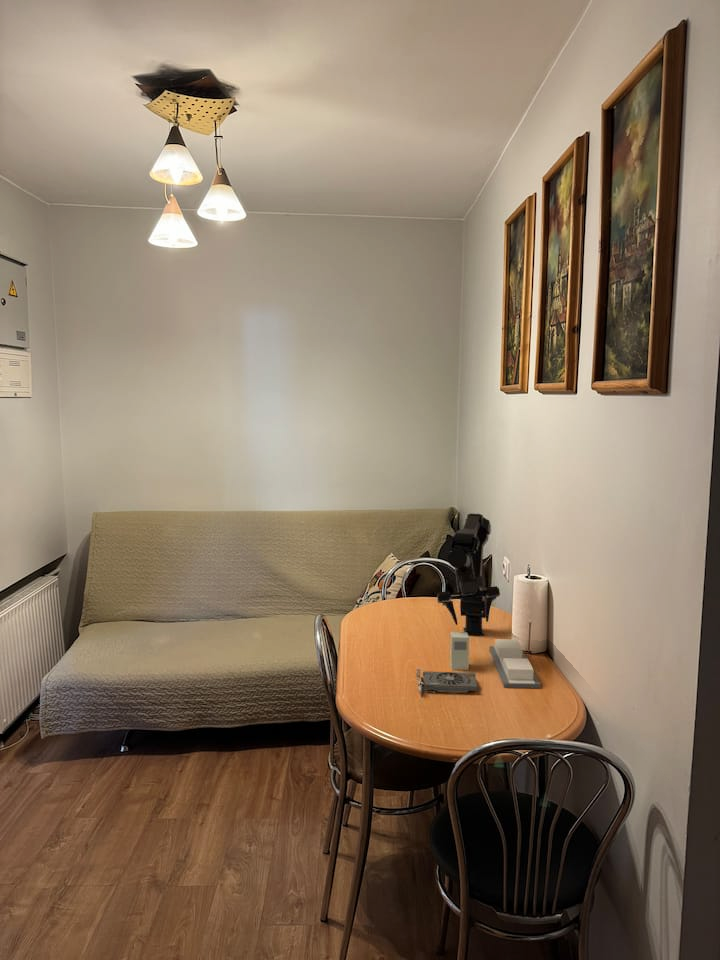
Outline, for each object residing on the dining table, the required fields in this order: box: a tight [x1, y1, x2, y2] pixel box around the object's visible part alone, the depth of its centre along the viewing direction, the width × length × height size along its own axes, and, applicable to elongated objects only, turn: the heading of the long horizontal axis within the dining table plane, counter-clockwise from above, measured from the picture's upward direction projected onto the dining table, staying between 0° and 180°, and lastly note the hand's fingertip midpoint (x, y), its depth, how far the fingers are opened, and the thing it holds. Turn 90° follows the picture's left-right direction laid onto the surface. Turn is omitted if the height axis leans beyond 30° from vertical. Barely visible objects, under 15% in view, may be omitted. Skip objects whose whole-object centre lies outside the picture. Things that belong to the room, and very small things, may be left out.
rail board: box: [488, 638, 541, 689], centre depth 188 cm, size 28×10×4 cm, turn 177°
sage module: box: [449, 631, 470, 671], centre depth 189 cm, size 5×5×10 cm
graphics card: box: [416, 668, 479, 694], centre depth 175 cm, size 17×4×12 cm
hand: (471, 623), depth 190 cm, fingers open, 9 cm apart
